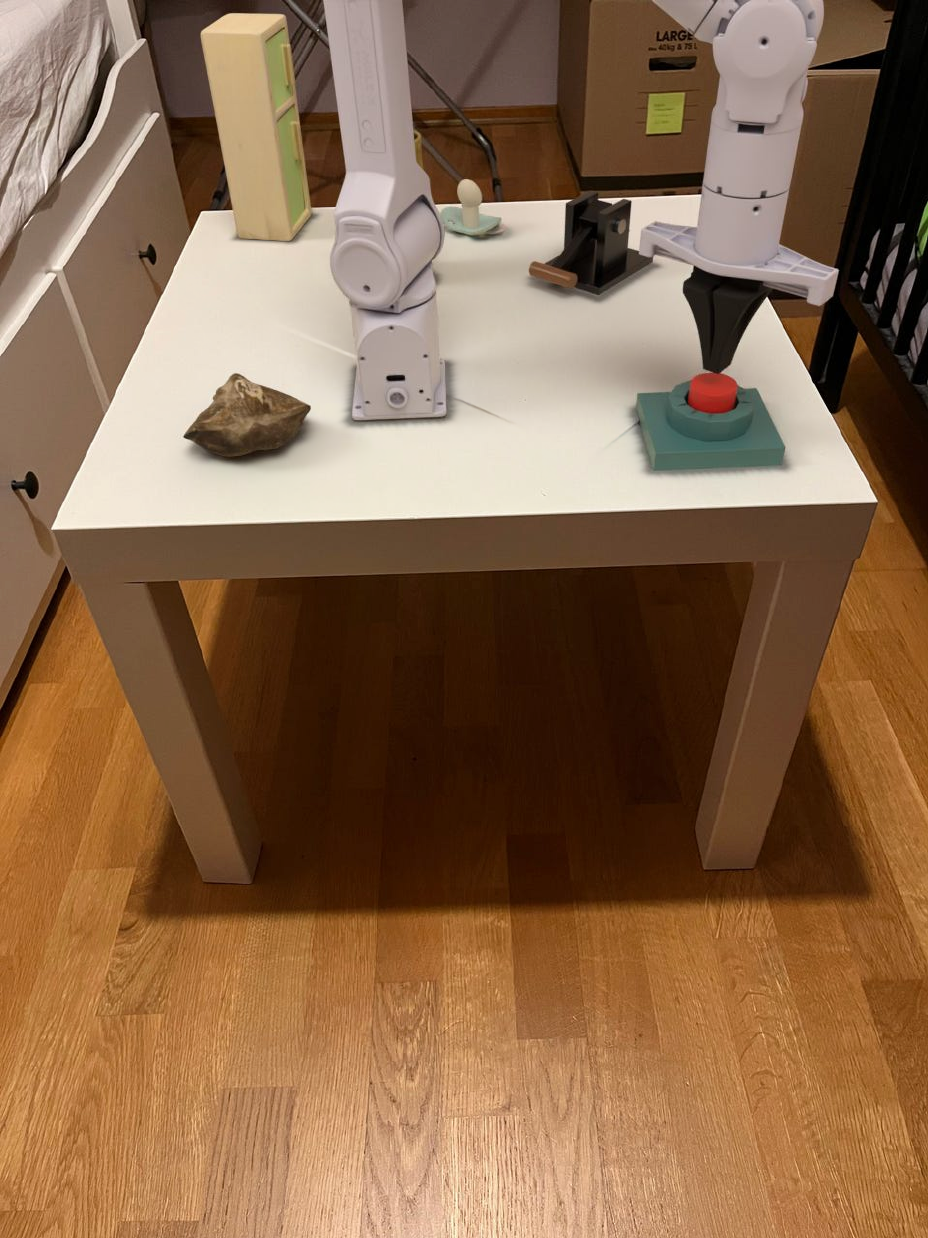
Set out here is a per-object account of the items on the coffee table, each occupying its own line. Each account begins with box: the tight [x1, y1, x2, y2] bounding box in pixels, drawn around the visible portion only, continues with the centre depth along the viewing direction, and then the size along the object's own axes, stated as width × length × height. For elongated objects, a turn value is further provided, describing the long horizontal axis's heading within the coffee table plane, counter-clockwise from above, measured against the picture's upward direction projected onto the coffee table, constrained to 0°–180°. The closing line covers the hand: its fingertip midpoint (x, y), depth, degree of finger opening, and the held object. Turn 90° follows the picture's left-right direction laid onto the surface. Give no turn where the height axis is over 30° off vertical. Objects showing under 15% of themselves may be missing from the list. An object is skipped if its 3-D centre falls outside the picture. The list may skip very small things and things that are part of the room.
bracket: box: [543, 190, 654, 296], centre depth 100 cm, size 10×8×7 cm
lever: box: [528, 199, 613, 289], centre depth 98 cm, size 10×5×2 cm, turn 140°
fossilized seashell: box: [183, 372, 312, 457], centre depth 79 cm, size 8×7×10 cm
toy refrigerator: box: [200, 12, 312, 242], centre depth 107 cm, size 8×7×21 cm
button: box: [688, 371, 739, 414], centre depth 76 cm, size 4×4×2 cm
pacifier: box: [440, 178, 506, 237], centre depth 109 cm, size 7×6×6 cm
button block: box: [635, 379, 786, 472], centre depth 78 cm, size 9×10×4 cm
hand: (716, 366), depth 75 cm, fingers closed
